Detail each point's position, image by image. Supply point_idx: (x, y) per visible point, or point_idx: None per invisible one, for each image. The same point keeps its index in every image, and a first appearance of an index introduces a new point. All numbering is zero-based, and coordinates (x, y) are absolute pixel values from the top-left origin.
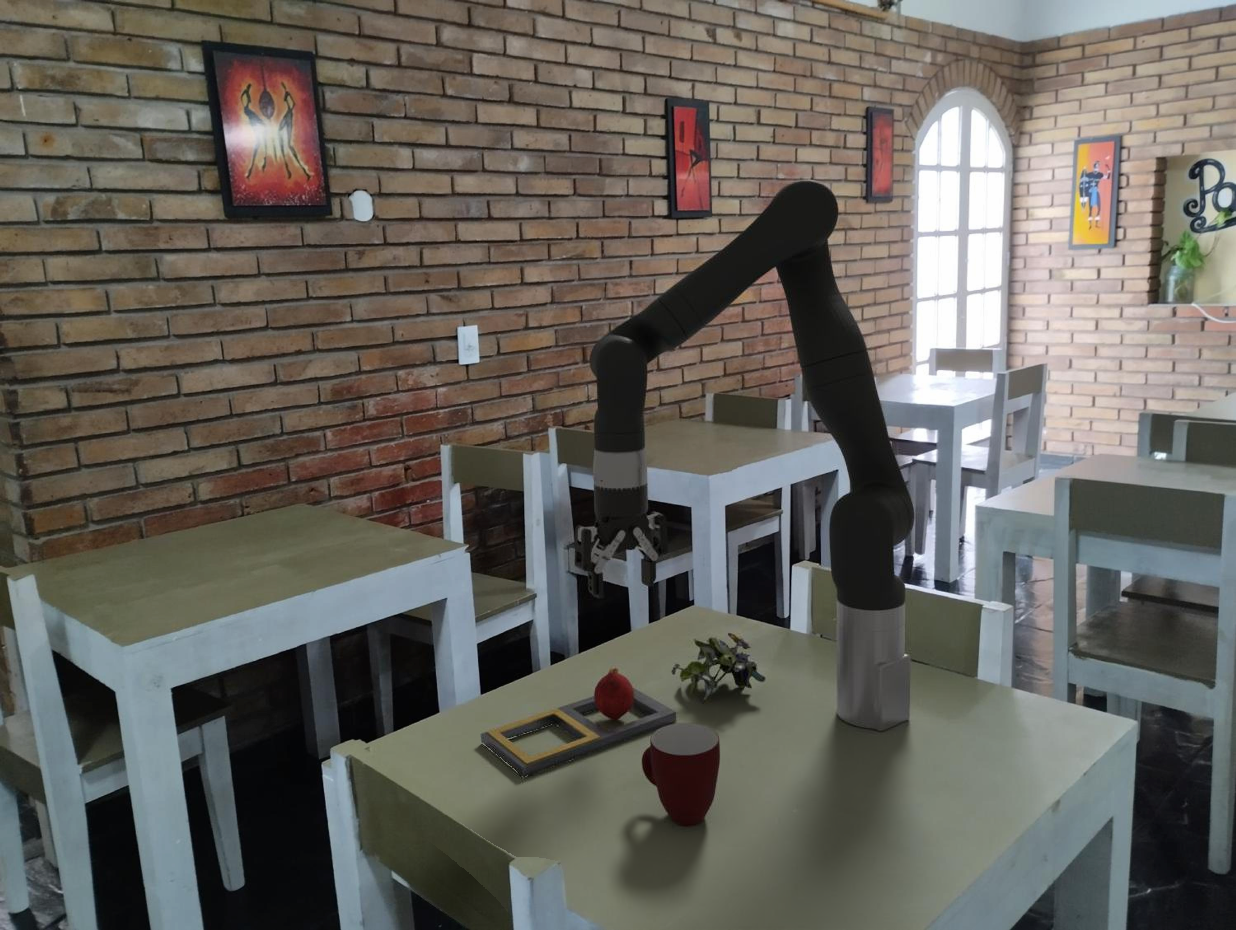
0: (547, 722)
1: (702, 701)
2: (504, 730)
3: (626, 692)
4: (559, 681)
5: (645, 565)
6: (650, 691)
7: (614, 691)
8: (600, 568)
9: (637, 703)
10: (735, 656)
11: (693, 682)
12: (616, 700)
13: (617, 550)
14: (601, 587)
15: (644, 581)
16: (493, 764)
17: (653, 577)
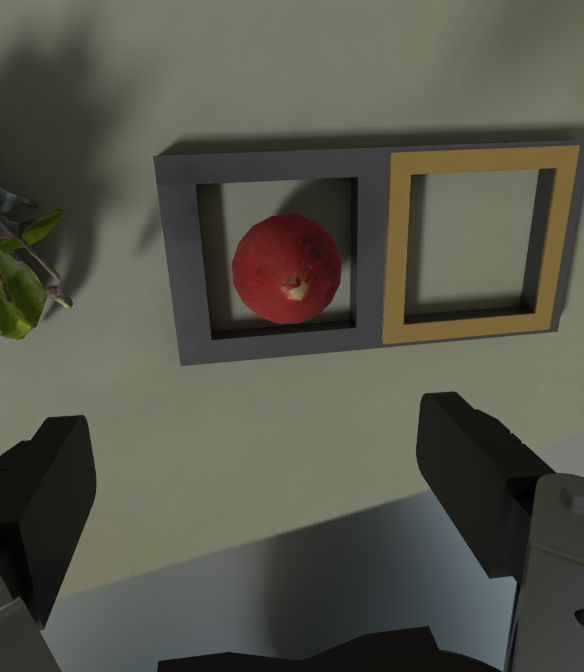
0: (414, 318)
1: (35, 206)
2: (521, 314)
3: (279, 225)
4: (279, 484)
5: (47, 543)
6: (128, 338)
7: (315, 235)
8: (561, 498)
9: (205, 277)
10: None
11: (32, 240)
12: (311, 222)
13: (430, 655)
14: (464, 418)
15: (88, 472)
16: (576, 233)
17: (32, 440)
